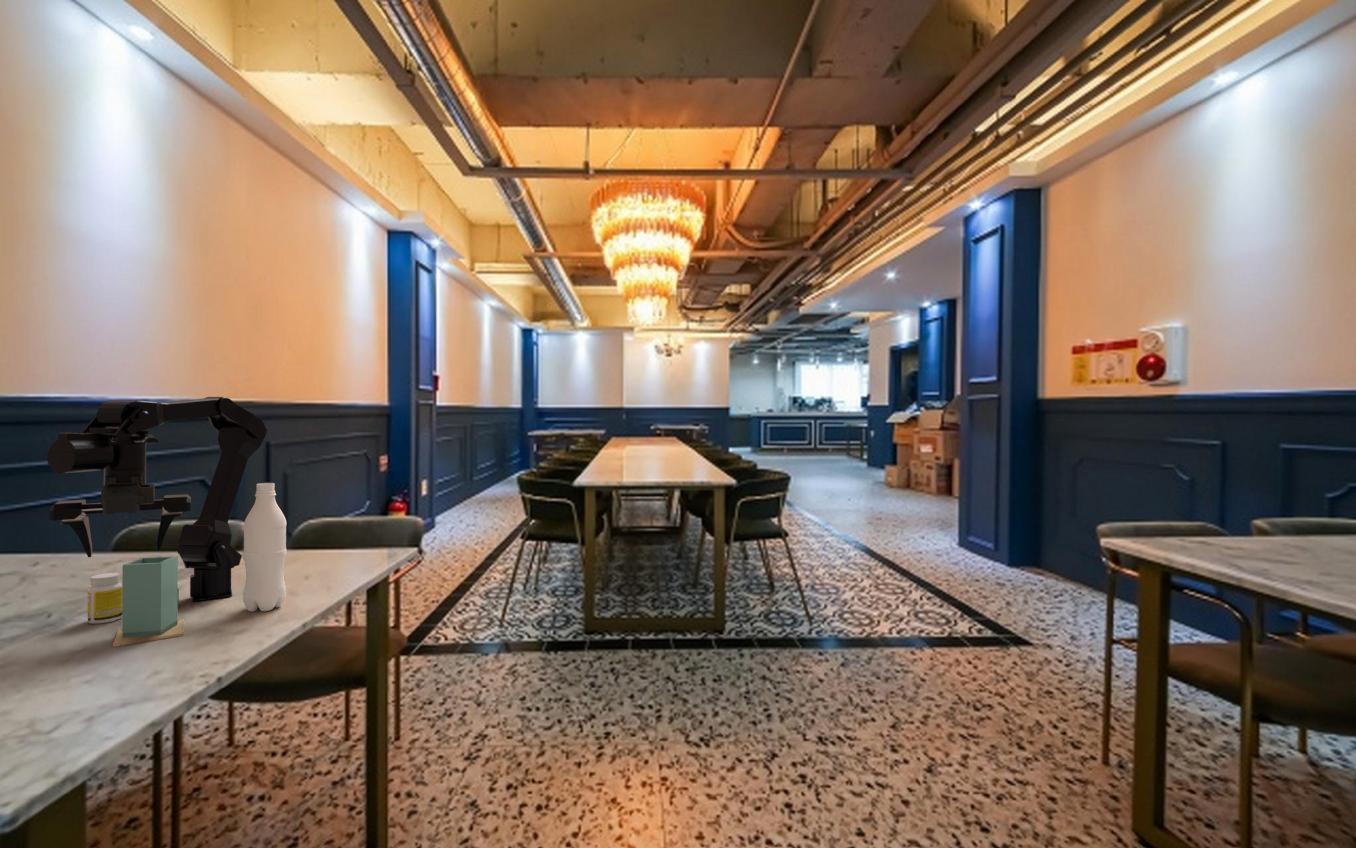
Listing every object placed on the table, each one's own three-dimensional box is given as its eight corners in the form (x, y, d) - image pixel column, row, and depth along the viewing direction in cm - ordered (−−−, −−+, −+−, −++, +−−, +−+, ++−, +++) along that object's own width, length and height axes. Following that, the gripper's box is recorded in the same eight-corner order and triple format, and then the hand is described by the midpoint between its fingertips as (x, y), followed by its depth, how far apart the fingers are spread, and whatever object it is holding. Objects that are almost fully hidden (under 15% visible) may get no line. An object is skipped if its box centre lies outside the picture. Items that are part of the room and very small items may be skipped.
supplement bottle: (129, 616, 114) (129, 572, 114) (103, 625, 110) (103, 579, 110) (106, 615, 115) (107, 571, 115) (80, 623, 110) (80, 578, 110)
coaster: (184, 621, 112) (184, 619, 112) (183, 635, 105) (183, 633, 105) (118, 631, 106) (118, 629, 106) (113, 647, 99) (113, 644, 99)
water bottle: (264, 615, 116) (264, 486, 116) (233, 612, 118) (234, 485, 117) (294, 604, 123) (295, 482, 123) (265, 601, 125) (266, 481, 124)
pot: (140, 627, 108) (141, 557, 108) (177, 624, 109) (177, 556, 109) (122, 638, 102) (122, 565, 102) (160, 635, 104) (161, 563, 104)
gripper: (43, 474, 98) (42, 570, 98) (190, 469, 110) (190, 555, 110) (55, 469, 107) (55, 557, 107) (190, 465, 118) (190, 544, 118)
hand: (124, 553), depth 110 cm, fingers open, 9 cm apart
